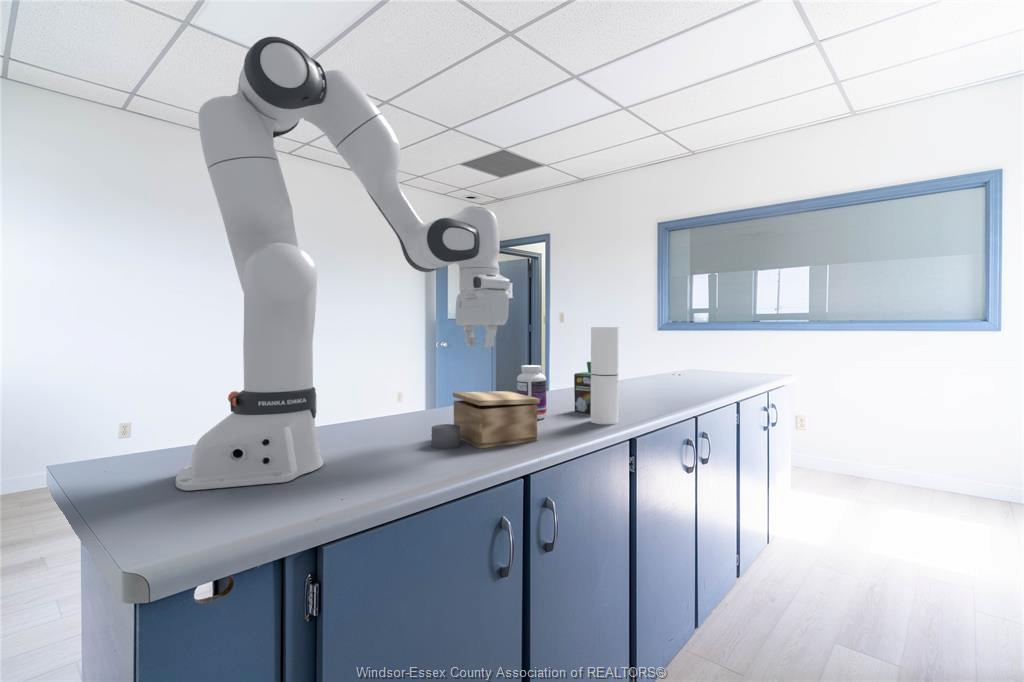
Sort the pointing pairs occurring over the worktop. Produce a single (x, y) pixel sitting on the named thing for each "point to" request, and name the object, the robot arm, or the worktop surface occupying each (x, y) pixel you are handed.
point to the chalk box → (583, 390)
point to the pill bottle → (533, 386)
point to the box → (495, 423)
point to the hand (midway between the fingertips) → (479, 346)
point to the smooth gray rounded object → (445, 436)
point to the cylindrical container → (604, 374)
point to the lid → (495, 398)
